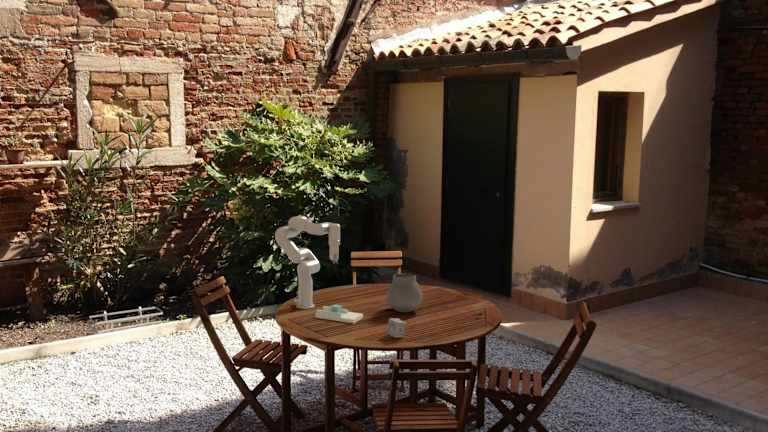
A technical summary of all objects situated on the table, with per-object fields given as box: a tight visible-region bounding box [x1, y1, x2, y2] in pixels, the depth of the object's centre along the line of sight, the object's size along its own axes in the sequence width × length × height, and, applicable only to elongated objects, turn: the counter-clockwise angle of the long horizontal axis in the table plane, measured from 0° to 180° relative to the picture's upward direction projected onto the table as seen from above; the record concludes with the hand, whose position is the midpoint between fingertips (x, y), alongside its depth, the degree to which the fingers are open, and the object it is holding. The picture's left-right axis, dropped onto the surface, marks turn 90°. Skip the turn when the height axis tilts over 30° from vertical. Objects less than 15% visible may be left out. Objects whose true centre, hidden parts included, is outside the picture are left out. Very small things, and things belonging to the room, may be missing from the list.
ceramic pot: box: [385, 273, 423, 313], centre depth 478 cm, size 24×24×25 cm
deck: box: [314, 305, 364, 324], centre depth 461 cm, size 28×14×4 cm, turn 67°
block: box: [330, 304, 343, 313], centre depth 461 cm, size 5×5×5 cm
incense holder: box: [386, 317, 408, 339], centre depth 426 cm, size 10×8×10 cm
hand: (334, 267), depth 467 cm, fingers open, 9 cm apart
